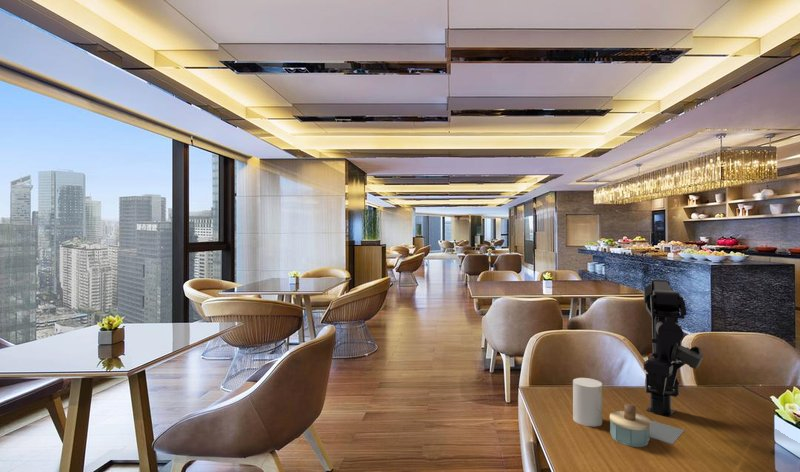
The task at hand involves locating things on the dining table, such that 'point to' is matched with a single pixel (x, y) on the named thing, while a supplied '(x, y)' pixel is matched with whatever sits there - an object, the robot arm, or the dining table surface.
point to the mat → (664, 432)
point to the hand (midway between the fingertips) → (666, 390)
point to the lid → (630, 418)
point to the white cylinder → (587, 402)
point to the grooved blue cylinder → (630, 436)
